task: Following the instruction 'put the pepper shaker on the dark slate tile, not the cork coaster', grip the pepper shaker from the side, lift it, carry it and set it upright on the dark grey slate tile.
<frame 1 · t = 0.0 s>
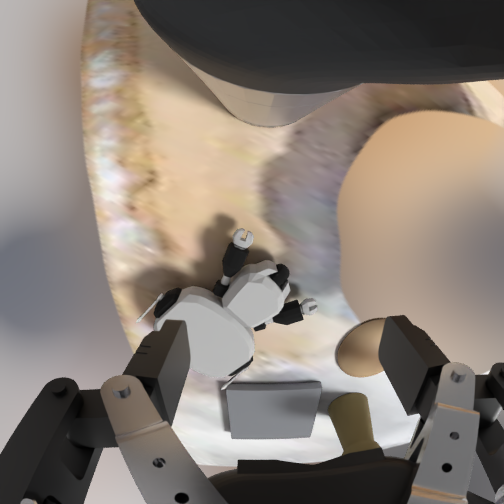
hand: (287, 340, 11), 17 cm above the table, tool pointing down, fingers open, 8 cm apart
robot toy: (230, 302, 31), on the table
pepper shaker: (347, 405, 36), on the table
cork coaster: (371, 347, 33), on the table
slate tile: (272, 411, 36), on the table
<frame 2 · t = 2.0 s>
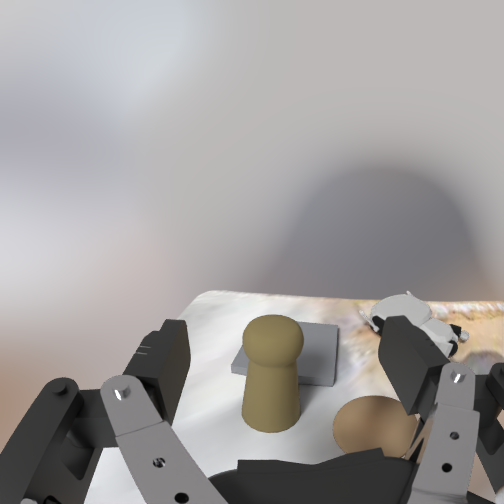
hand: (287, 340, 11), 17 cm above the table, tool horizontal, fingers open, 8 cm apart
robot toy: (413, 342, 37), on the table
pepper shaker: (271, 412, 27), on the table
cork coaster: (375, 430, 23), on the table
slate tile: (290, 351, 37), on the table
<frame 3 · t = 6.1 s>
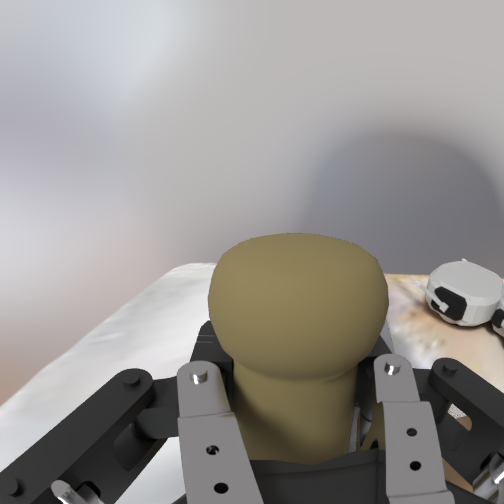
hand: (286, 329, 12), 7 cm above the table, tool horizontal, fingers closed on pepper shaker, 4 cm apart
robot toy: (484, 327, 21), on the table
pepper shaker: (282, 468, 11), on the table, touching gripper
cork coaster: (480, 478, 7), on the table
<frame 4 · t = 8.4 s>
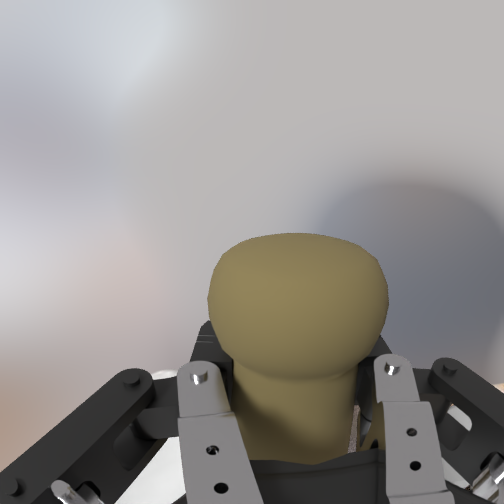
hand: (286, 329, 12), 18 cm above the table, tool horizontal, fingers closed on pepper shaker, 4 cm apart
robot toy: (464, 479, 14), on the table
pepper shaker: (282, 468, 11), point 11 cm above the table, touching gripper
when the fingers open (9 cm above the table, at t = 10.9 s): pepper shaker moves 3 cm, resting on slate tile.
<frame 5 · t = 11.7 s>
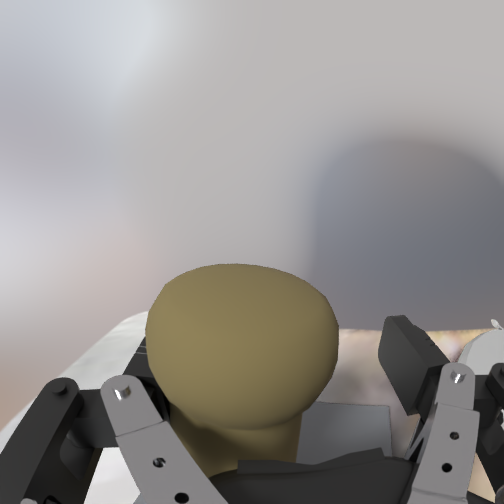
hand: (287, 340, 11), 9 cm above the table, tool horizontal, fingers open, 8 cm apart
pepper shaker: (228, 486, 11), point 1 cm above the table, touching gripper, slate tile
slate tile: (277, 483, 12), on the table
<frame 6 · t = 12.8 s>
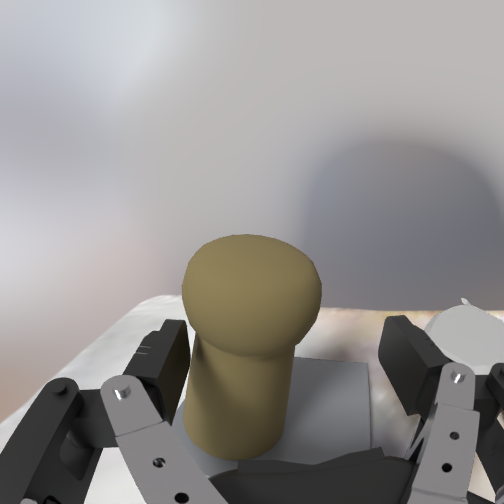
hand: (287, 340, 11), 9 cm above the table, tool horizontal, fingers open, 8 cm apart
robot toy: (483, 387, 16), on the table
pepper shaker: (233, 418, 15), point 2 cm above the table, touching slate tile
slate tile: (275, 421, 17), on the table
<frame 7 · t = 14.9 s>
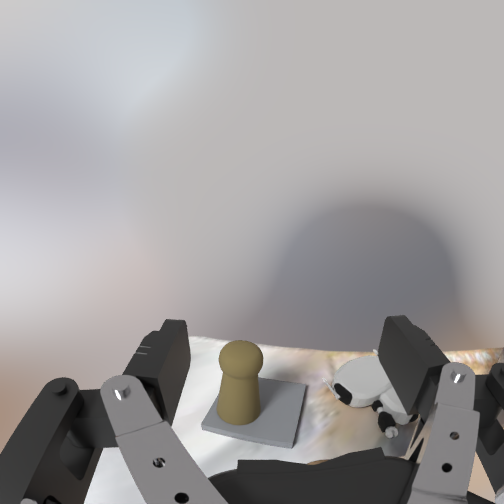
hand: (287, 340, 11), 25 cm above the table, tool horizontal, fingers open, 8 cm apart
robot toy: (375, 404, 37), on the table
pepper shaker: (238, 409, 36), point 1 cm above the table, touching slate tile
slate tile: (257, 410, 37), on the table
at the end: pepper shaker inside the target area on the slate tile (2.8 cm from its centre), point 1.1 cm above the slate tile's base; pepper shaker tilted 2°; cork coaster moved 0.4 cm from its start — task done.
